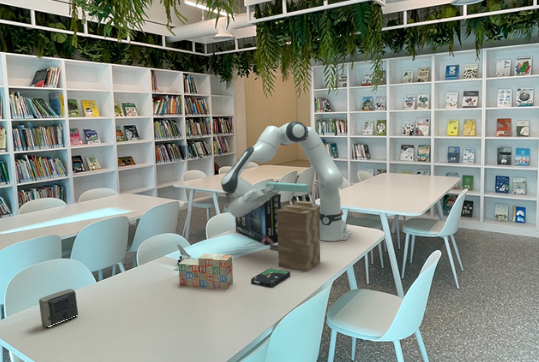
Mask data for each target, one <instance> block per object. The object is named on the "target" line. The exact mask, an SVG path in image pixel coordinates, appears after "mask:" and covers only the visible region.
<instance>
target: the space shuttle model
mask: <svg viewBox="0 0 539 362" xmlns="http://www.w3.org/2000/svg"><path fill="white" fill-rule="evenodd" d="M176 246H177V248H178V250H179V251H178V252H179V253H180V256H179V259H178V260H177V263H176V264H177V267H175V268H176V269H175V268H174V271H178V270H179V266H178V264H179V263H180V262H182V261H183V260H184V259H191V260H198V258H195V257H192V255H190V254H189V253H188V252H187V251H186V250H185V249H184V248H183V246H181V245H180V244H176Z"/></svg>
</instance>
